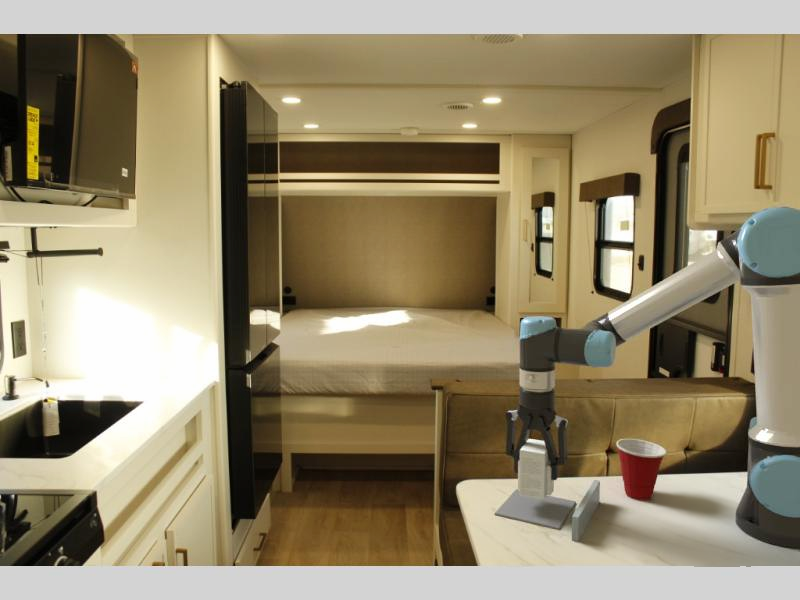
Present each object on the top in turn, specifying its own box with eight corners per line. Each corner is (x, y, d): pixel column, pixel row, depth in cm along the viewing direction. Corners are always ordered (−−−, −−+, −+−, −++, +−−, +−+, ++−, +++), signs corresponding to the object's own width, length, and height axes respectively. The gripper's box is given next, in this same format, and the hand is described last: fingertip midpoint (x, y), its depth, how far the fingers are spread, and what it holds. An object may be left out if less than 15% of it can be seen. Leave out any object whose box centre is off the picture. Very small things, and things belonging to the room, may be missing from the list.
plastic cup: (670, 507, 132) (672, 455, 130) (618, 503, 134) (620, 452, 132) (659, 487, 142) (660, 438, 141) (611, 484, 144) (612, 436, 143)
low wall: (599, 502, 135) (599, 480, 134) (577, 541, 118) (578, 517, 117) (594, 500, 135) (594, 479, 135) (571, 540, 118) (572, 516, 118)
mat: (575, 503, 134) (575, 501, 134) (558, 529, 122) (558, 527, 122) (516, 490, 141) (516, 489, 141) (494, 514, 129) (494, 513, 129)
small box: (527, 482, 136) (528, 437, 135) (552, 486, 134) (552, 441, 133) (518, 496, 129) (518, 449, 128) (544, 500, 127) (544, 453, 126)
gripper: (489, 386, 130) (489, 487, 133) (576, 397, 121) (574, 505, 124) (501, 379, 137) (501, 475, 139) (585, 388, 128) (582, 492, 130)
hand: (535, 489), depth 132 cm, fingers closed on small box, 6 cm apart
